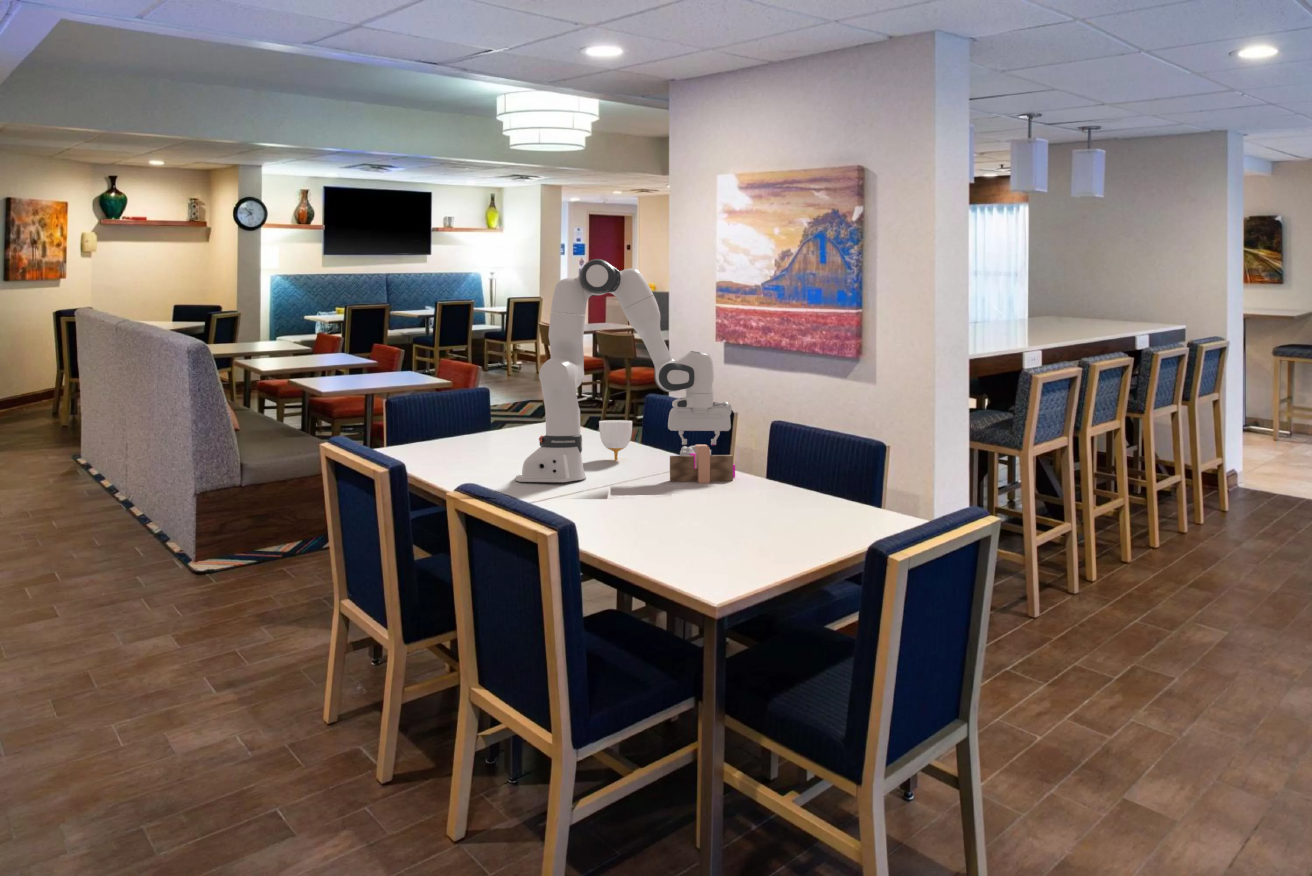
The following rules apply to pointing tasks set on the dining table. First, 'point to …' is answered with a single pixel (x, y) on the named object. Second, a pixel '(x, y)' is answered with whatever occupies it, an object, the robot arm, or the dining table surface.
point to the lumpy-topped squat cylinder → (688, 451)
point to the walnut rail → (685, 469)
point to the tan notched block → (702, 463)
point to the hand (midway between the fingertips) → (699, 444)
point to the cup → (615, 434)
